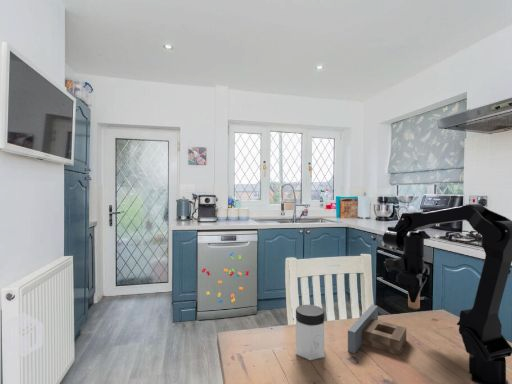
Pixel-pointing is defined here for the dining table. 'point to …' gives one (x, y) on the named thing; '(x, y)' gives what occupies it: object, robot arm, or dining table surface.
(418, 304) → the dowel
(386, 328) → the block
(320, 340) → the jar
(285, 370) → the dining table surface
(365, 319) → the bar
